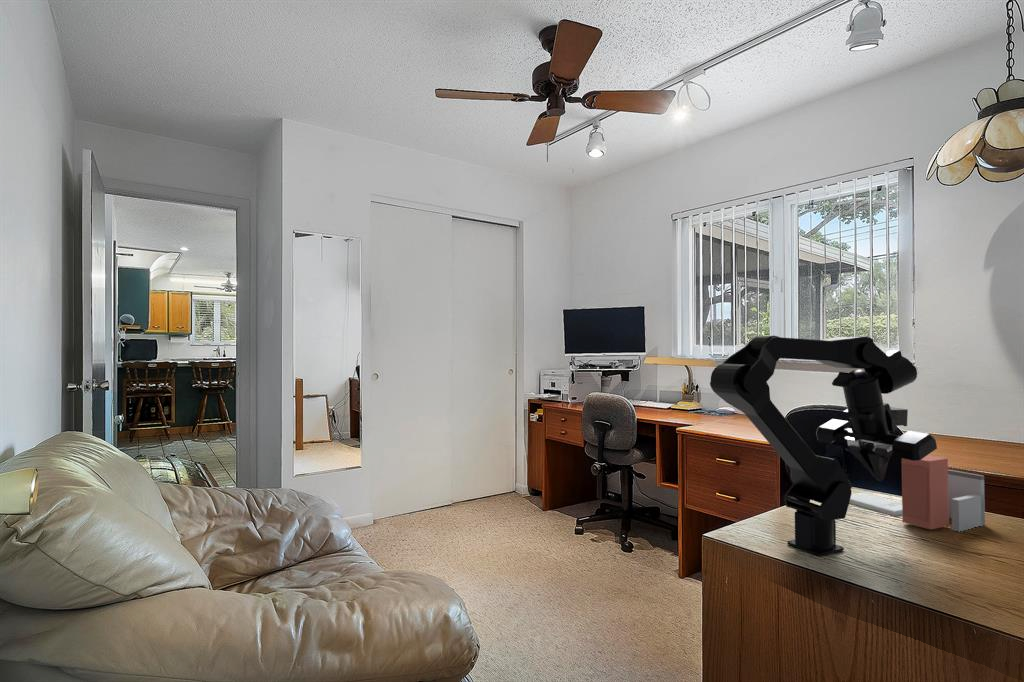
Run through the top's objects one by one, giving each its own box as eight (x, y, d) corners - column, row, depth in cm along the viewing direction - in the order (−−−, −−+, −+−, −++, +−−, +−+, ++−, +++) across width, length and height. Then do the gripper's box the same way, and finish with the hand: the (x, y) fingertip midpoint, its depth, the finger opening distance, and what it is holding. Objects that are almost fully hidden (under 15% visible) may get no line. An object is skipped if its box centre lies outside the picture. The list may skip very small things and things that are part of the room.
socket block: (959, 532, 103) (958, 480, 103) (906, 518, 112) (905, 470, 112) (985, 525, 107) (984, 475, 107) (931, 512, 115) (931, 466, 115)
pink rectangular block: (928, 530, 103) (927, 461, 103) (900, 522, 107) (899, 456, 107) (948, 525, 105) (947, 458, 106) (920, 517, 110) (919, 453, 110)
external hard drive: (864, 499, 128) (920, 513, 116) (839, 502, 125) (894, 518, 113) (864, 492, 128) (920, 506, 116) (839, 495, 125) (894, 510, 113)
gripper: (947, 392, 94) (961, 474, 96) (843, 382, 111) (857, 452, 113) (909, 415, 89) (925, 501, 92) (807, 402, 107) (823, 474, 109)
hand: (880, 479), depth 101 cm, fingers closed
